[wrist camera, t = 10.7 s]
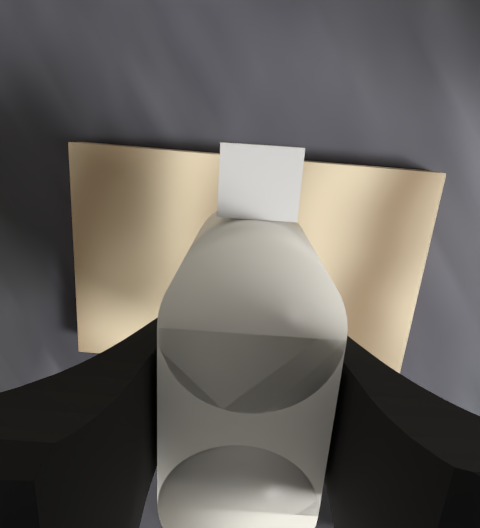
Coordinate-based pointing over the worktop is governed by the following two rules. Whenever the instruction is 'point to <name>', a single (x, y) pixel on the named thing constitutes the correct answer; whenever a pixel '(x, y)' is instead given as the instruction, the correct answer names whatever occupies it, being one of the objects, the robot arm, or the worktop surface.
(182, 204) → the birch board
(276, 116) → the worktop surface
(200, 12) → the worktop surface
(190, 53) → the worktop surface
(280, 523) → the capped bottle
